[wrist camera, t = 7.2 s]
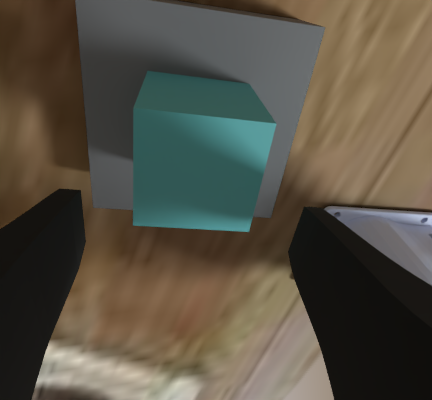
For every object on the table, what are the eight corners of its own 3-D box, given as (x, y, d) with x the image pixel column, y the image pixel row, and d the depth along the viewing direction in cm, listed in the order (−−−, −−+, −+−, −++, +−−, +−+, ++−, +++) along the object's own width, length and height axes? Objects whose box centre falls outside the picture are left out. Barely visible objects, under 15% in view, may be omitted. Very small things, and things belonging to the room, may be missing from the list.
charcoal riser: (299, 19, 16) (325, 27, 14) (258, 186, 22) (270, 218, 19) (95, -13, 15) (74, -12, 12) (105, 175, 20) (93, 207, 17)
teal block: (249, 83, 14) (276, 123, 10) (232, 171, 17) (248, 231, 13) (147, 70, 14) (133, 107, 10) (145, 163, 16) (132, 225, 12)
